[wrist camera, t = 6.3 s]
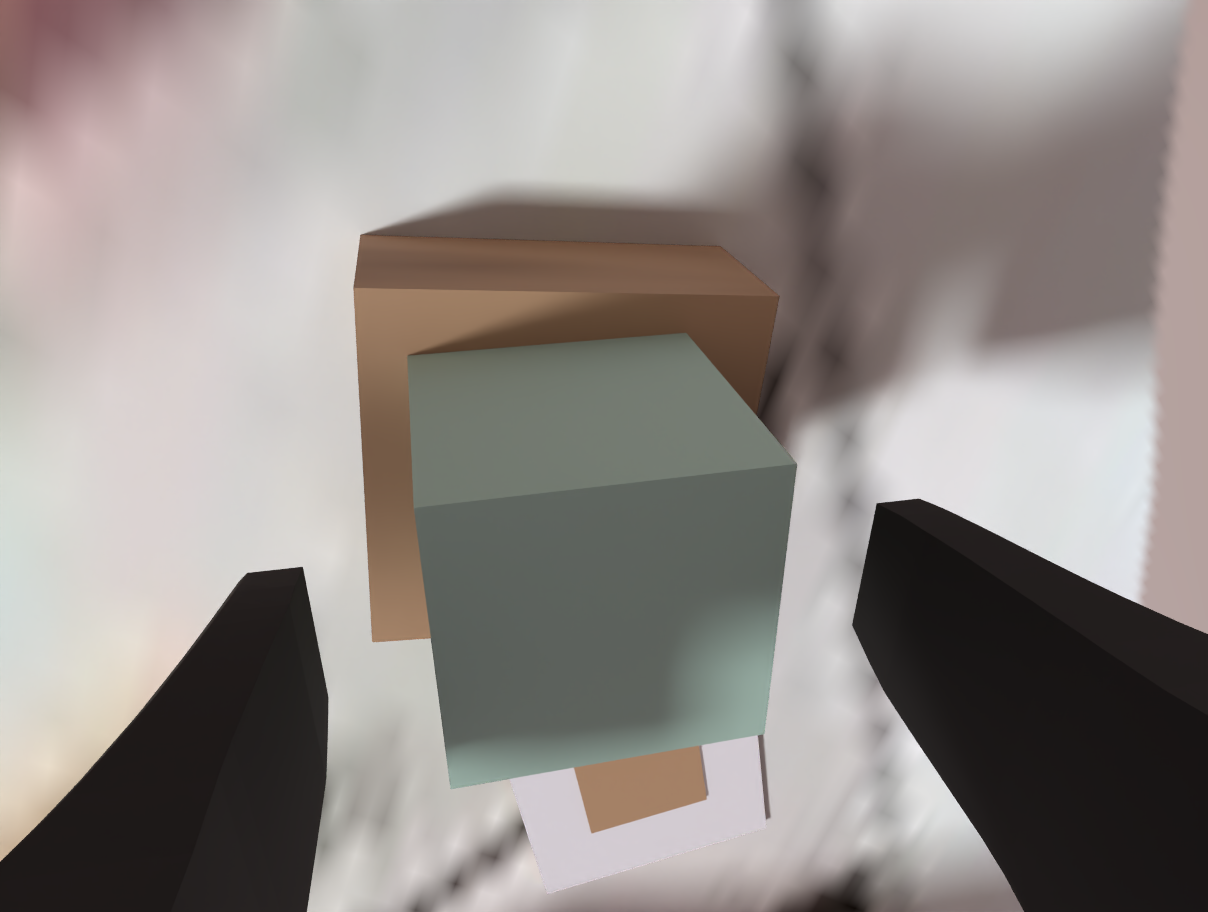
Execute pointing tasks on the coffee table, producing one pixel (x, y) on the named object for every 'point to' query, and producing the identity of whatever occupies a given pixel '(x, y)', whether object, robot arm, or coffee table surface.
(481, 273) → the walnut brick
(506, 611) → the green brick
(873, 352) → the coffee table surface
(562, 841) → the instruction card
